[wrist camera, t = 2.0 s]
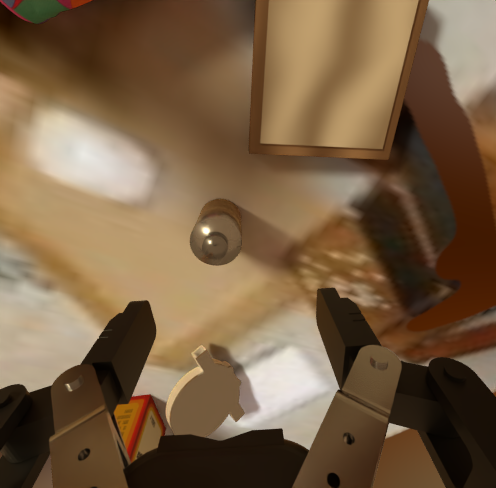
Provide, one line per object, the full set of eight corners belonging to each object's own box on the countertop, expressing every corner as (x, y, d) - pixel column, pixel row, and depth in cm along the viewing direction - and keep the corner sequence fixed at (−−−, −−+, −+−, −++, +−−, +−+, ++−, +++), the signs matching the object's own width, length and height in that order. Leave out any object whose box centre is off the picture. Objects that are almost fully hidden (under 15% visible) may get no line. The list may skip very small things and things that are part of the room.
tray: (248, 150, 29) (249, 153, 26) (256, -20, 23) (258, -41, 20) (374, 156, 30) (389, 160, 27) (413, -9, 24) (437, -27, 21)
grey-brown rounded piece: (255, 400, 45) (218, 475, 37) (219, 387, 50) (180, 453, 42) (220, 337, 39) (168, 411, 31) (184, 330, 44) (130, 393, 36)
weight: (200, 237, 33) (188, 270, 26) (199, 197, 31) (186, 222, 24) (240, 238, 33) (240, 272, 26) (242, 199, 31) (242, 224, 24)
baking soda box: (165, 428, 49) (134, 558, 34) (131, 432, 49) (85, 563, 35) (150, 394, 45) (107, 524, 31) (112, 399, 45) (52, 530, 31)
